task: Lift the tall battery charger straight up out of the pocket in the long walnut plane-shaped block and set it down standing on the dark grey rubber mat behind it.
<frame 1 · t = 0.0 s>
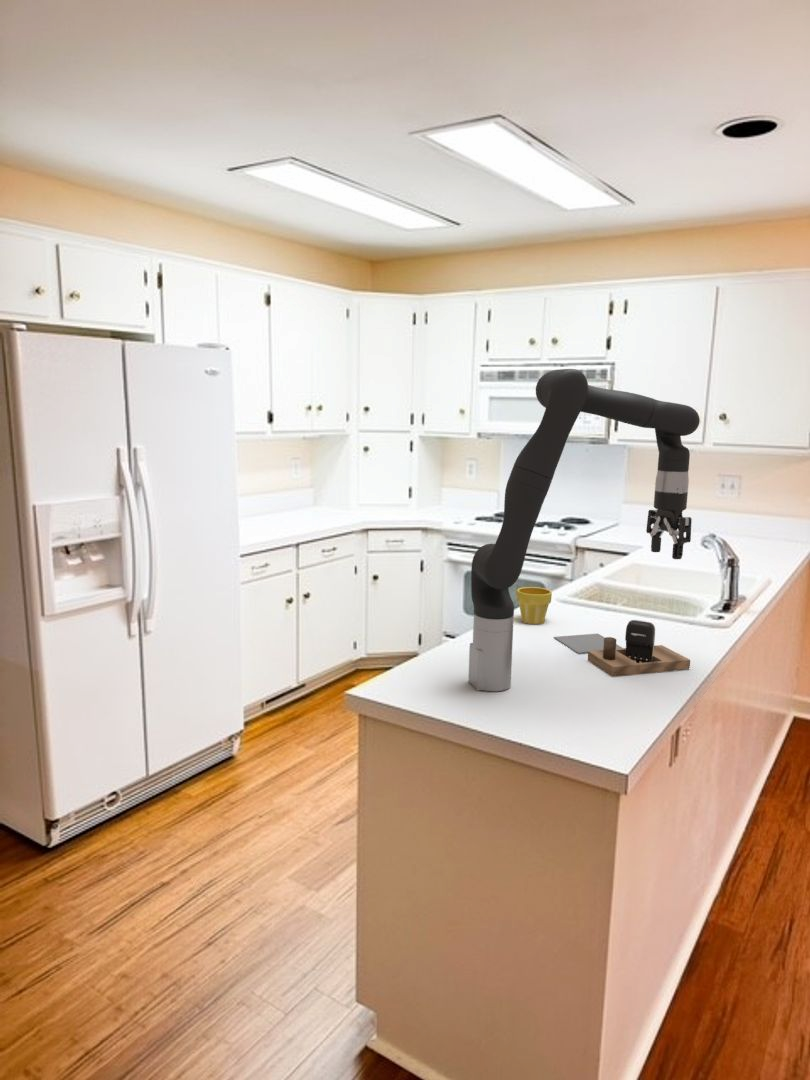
hand: (666, 555, 180), 29 cm above the table, tool pointing down, fingers open, 8 cm apart
rubber mat: (588, 644, 204), on the table
plant pot: (532, 622, 225), on the table
plane body: (637, 664, 188), on the table
battery charger: (637, 665, 188), resting in plane body
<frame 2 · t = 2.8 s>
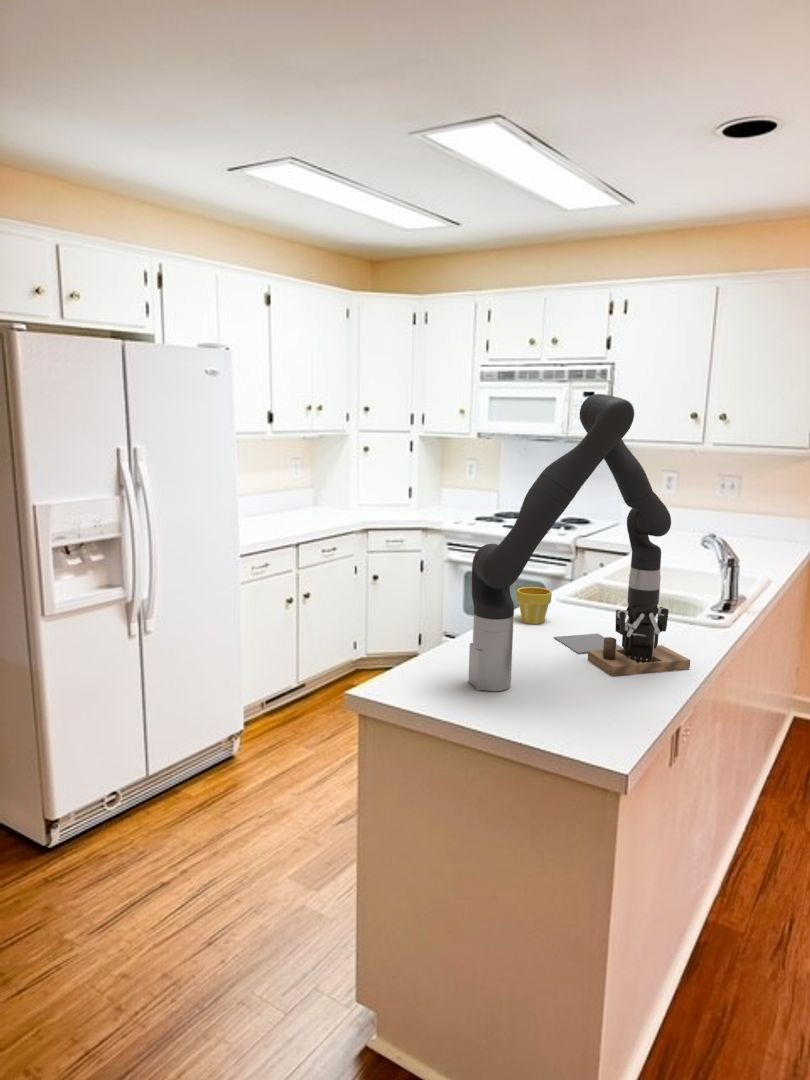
hand: (639, 648, 187), 4 cm above the table, tool pointing down, fingers closed on battery charger, 7 cm apart
battery charger: (637, 665, 188), resting in plane body, touching gripper
everything else where it was.
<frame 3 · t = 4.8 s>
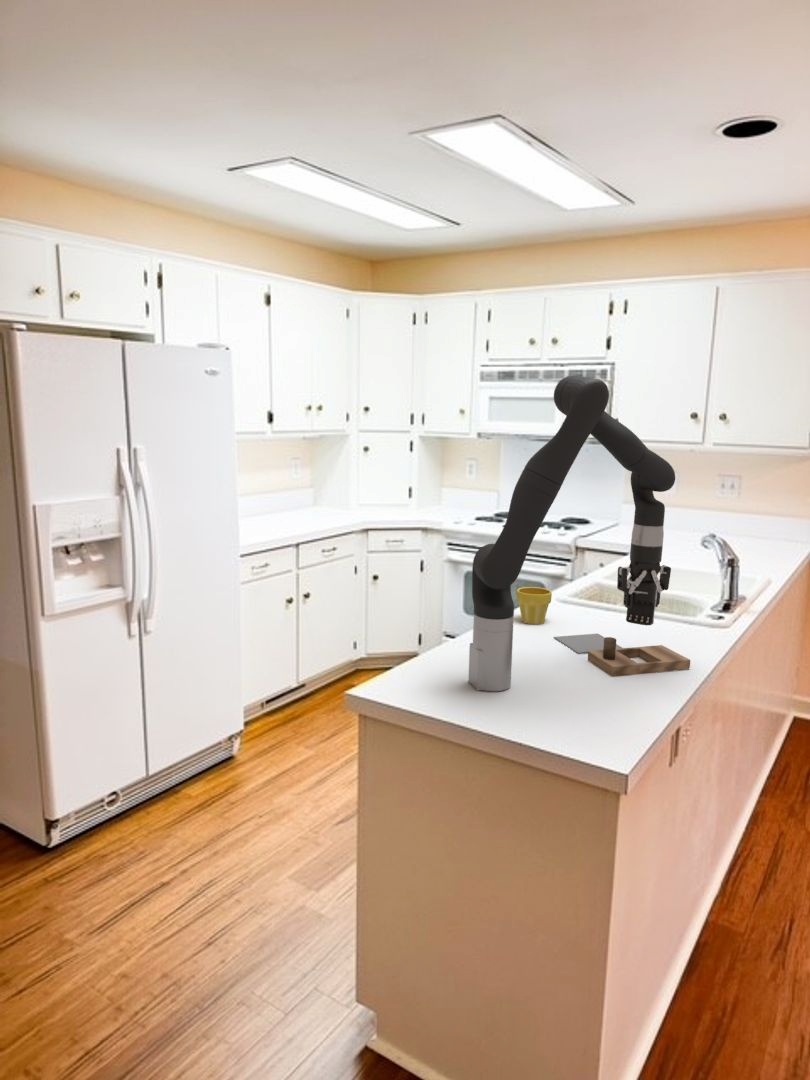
hand: (641, 606, 186), 15 cm above the table, tool pointing down, fingers closed on battery charger, 7 cm apart
battery charger: (638, 624, 186), point 11 cm above the table, touching gripper
everything else where it was.
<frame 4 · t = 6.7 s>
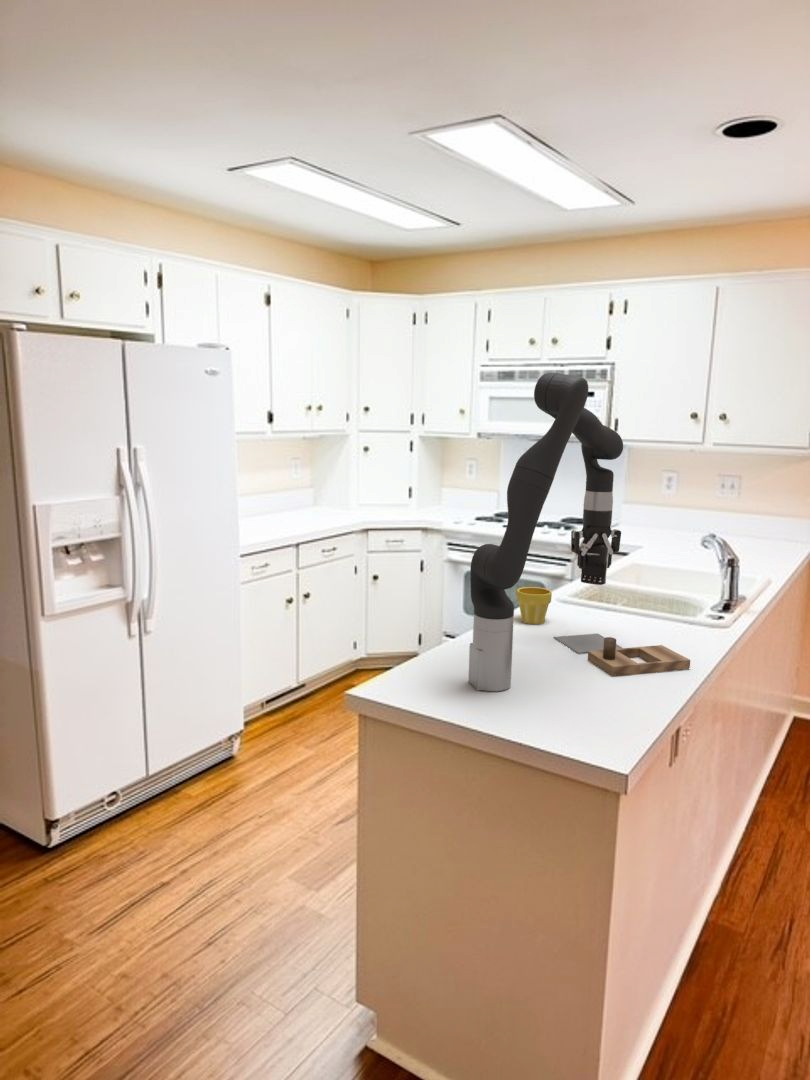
hand: (594, 567, 200), 22 cm above the table, tool pointing down, fingers closed on battery charger, 7 cm apart
battery charger: (592, 584, 201), point 17 cm above the table, touching gripper
everything else where it was.
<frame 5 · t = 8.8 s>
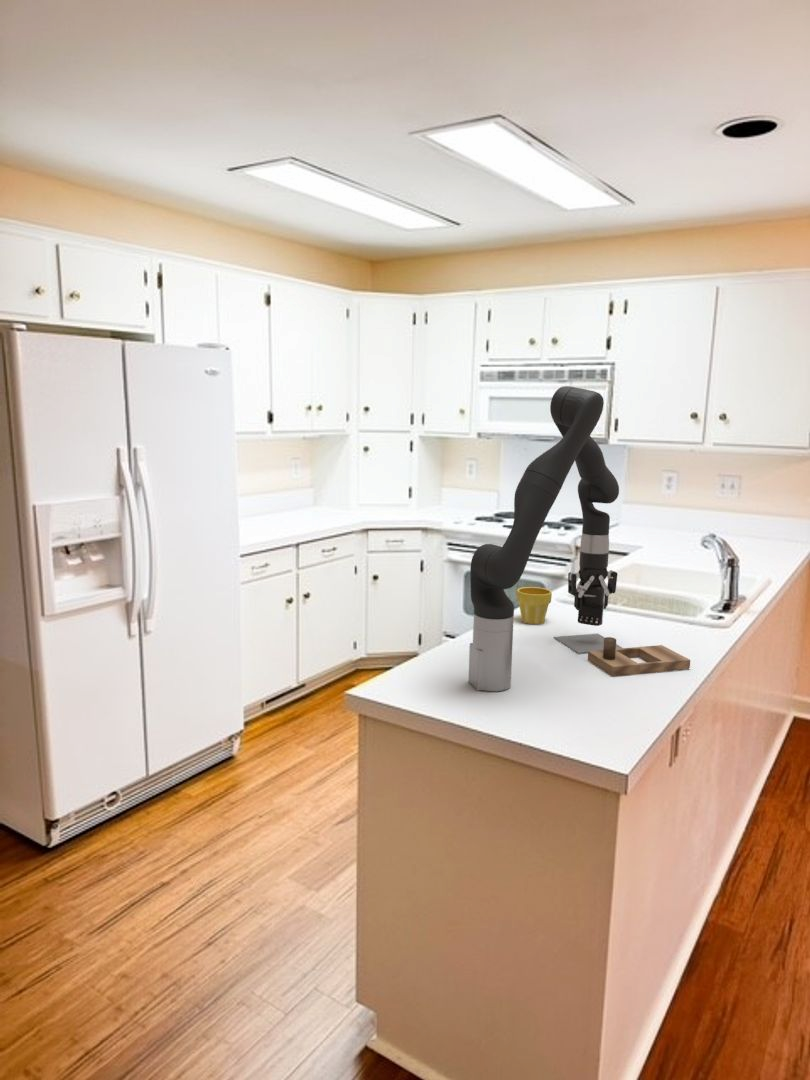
hand: (590, 608, 202), 10 cm above the table, tool pointing down, fingers closed on battery charger, 7 cm apart
battery charger: (589, 624, 203), point 6 cm above the table, touching gripper
everything else where it was.
when the fingers open (6 cm above the table, at t = 10.7 s): battery charger drops 1 cm, resting on rubber mat.
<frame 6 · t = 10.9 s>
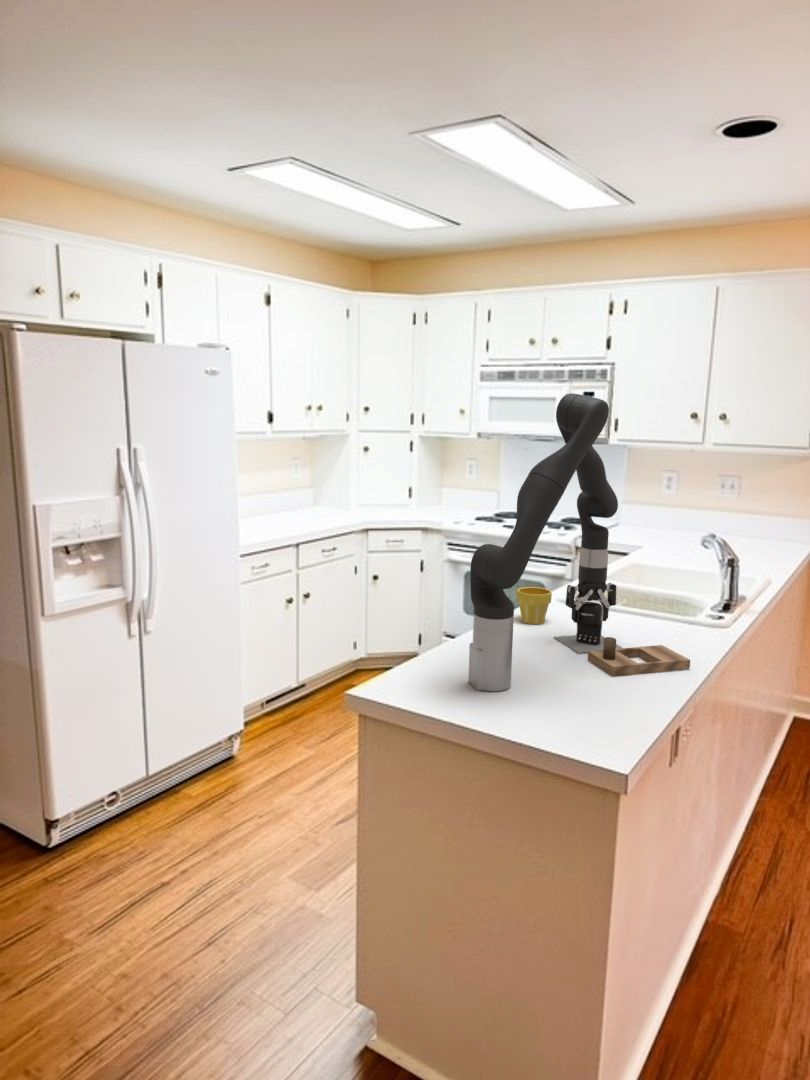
hand: (589, 621, 203), 7 cm above the table, tool pointing down, fingers open, 8 cm apart
battery charger: (587, 643, 204), resting on rubber mat
everything else where it was.
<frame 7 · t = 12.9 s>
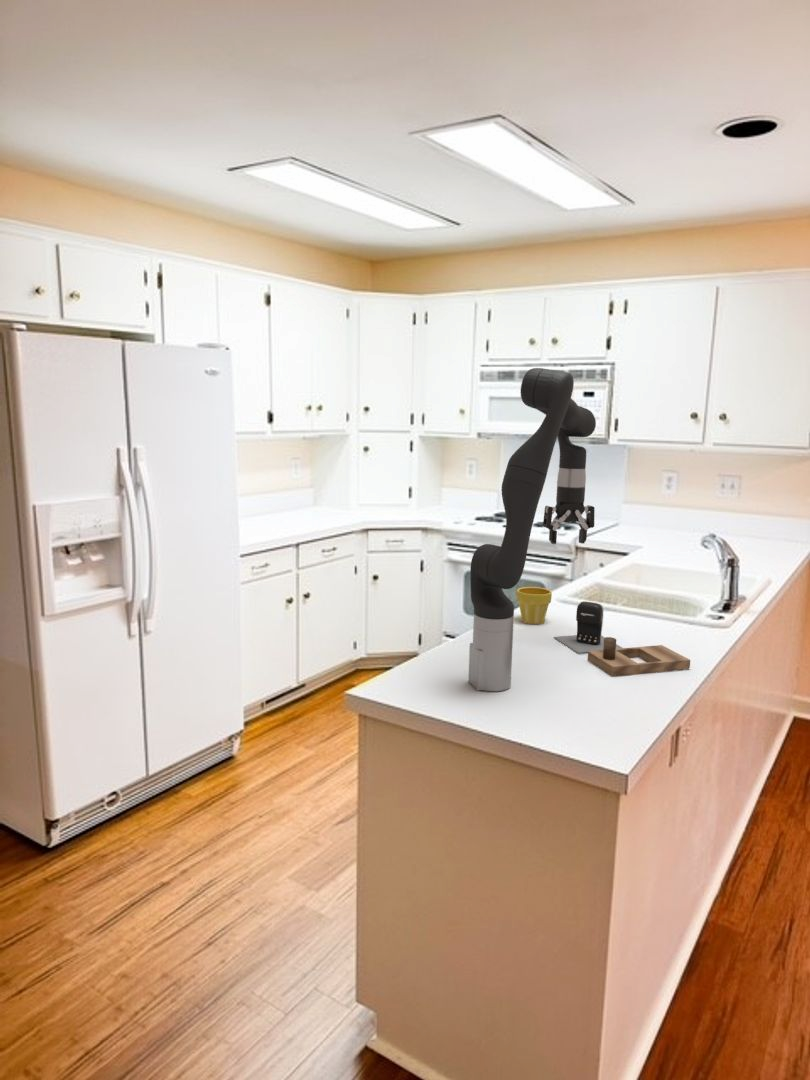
hand: (567, 543, 203), 28 cm above the table, tool pointing down, fingers open, 8 cm apart
nothing on the table moved.
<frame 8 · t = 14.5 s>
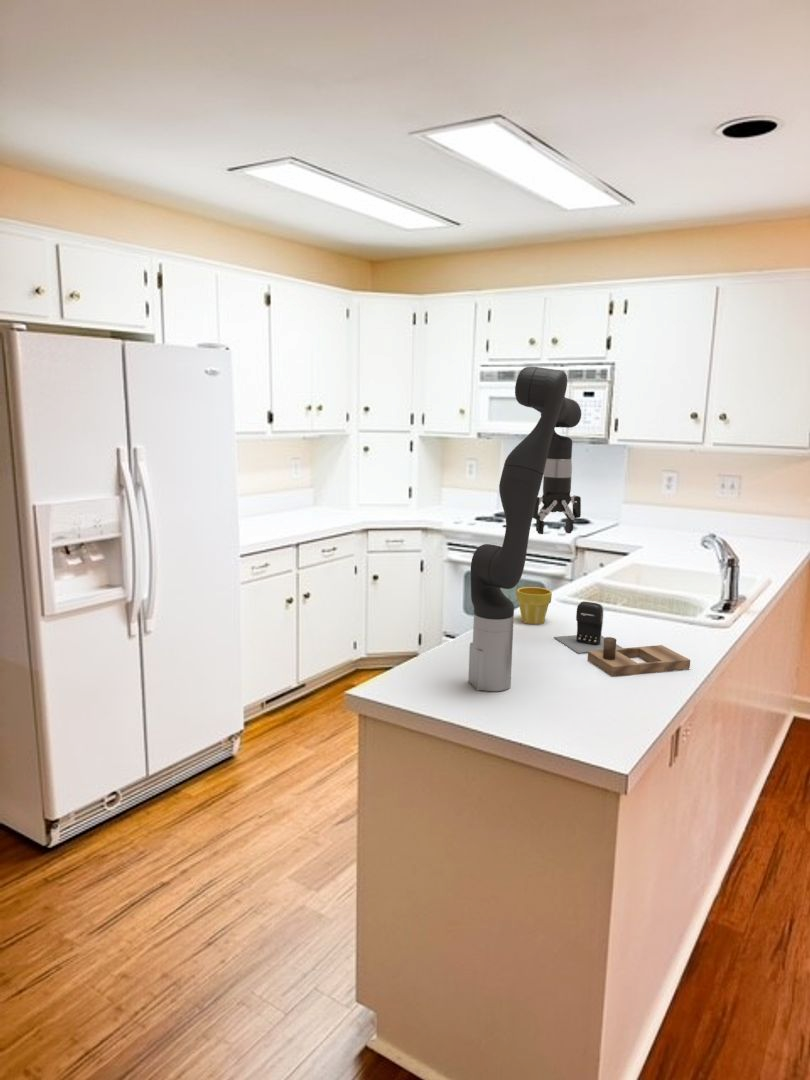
hand: (554, 533, 204), 30 cm above the table, tool pointing down, fingers open, 8 cm apart
nothing on the table moved.
at the end: battery charger inside the target area on the rubber mat (0.2 cm from its centre), point 0.2 cm above the rubber mat's base; battery charger tilted 0°; the gripper is holding nothing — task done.
